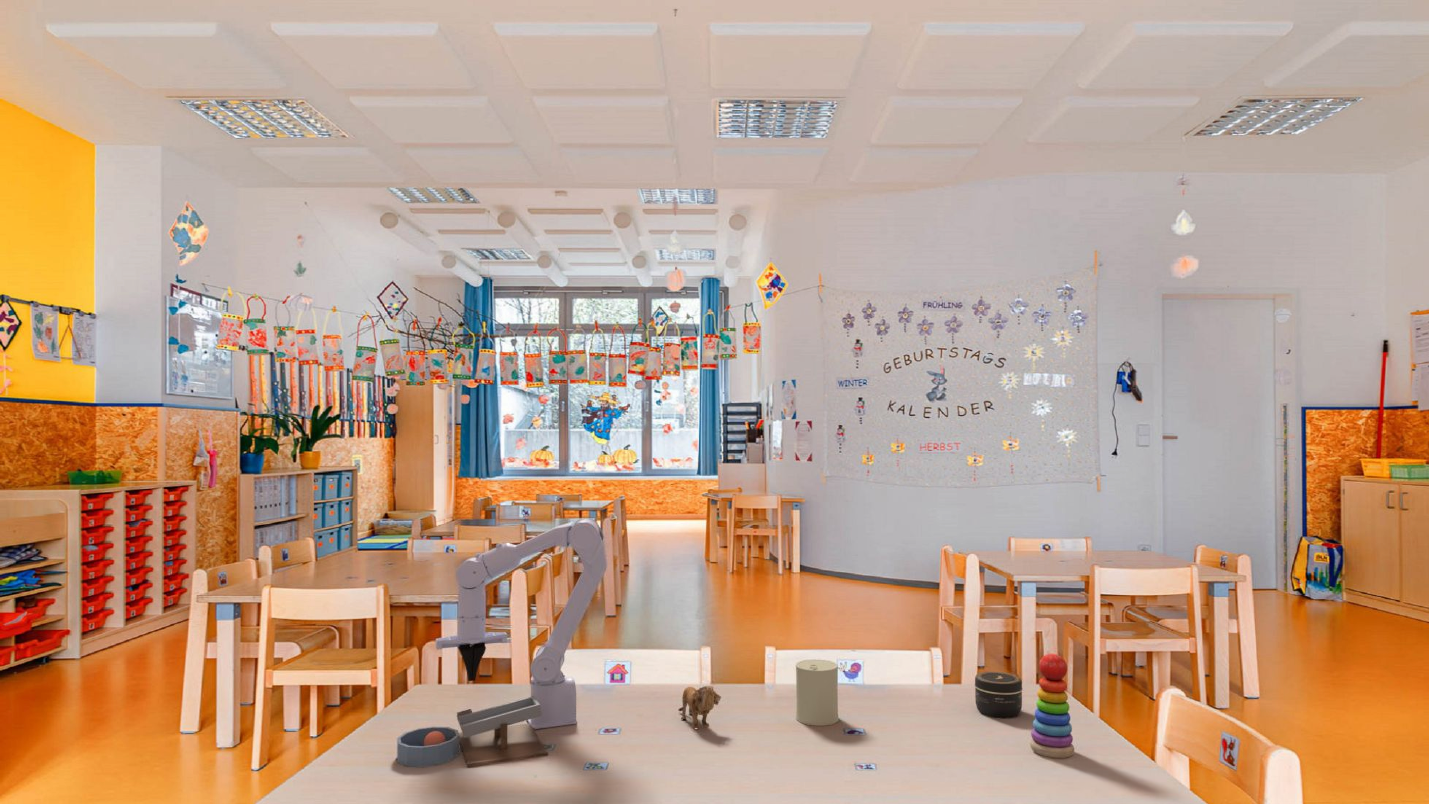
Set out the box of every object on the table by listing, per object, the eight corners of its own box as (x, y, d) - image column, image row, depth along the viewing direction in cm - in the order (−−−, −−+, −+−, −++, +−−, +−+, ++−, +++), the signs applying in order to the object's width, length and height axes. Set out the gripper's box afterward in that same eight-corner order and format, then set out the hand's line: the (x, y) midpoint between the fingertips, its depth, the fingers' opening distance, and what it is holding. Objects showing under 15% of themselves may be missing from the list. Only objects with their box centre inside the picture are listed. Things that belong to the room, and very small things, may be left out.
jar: (1018, 706, 196) (1018, 671, 196) (1026, 720, 186) (1026, 684, 186) (972, 703, 197) (972, 669, 198) (978, 718, 188) (977, 682, 188)
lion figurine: (724, 730, 181) (723, 686, 181) (702, 734, 178) (702, 690, 178) (688, 710, 193) (688, 670, 194) (667, 715, 190) (667, 673, 191)
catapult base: (529, 725, 183) (530, 700, 184) (547, 755, 167) (548, 727, 167) (456, 735, 178) (456, 709, 178) (467, 767, 161) (467, 738, 161)
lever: (529, 698, 184) (528, 687, 184) (541, 715, 173) (539, 704, 172) (457, 718, 178) (455, 707, 178) (464, 737, 167) (462, 726, 167)
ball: (419, 734, 168) (427, 752, 169) (421, 740, 165) (428, 760, 165) (440, 724, 170) (447, 743, 170) (442, 731, 166) (449, 749, 167)
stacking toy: (1054, 762, 162) (1052, 661, 163) (1021, 748, 170) (1019, 651, 170) (1083, 755, 166) (1081, 656, 167) (1050, 741, 173) (1048, 647, 174)
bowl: (455, 741, 174) (455, 723, 174) (461, 761, 164) (461, 742, 164) (395, 749, 170) (395, 731, 170) (398, 770, 160) (399, 750, 160)
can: (790, 722, 185) (790, 665, 185) (802, 709, 194) (802, 655, 194) (832, 728, 182) (832, 670, 182) (843, 714, 190) (842, 659, 191)
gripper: (438, 622, 179) (438, 688, 178) (509, 616, 185) (509, 680, 184) (434, 615, 185) (434, 679, 185) (503, 609, 191) (503, 672, 191)
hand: (471, 679), depth 185 cm, fingers closed
